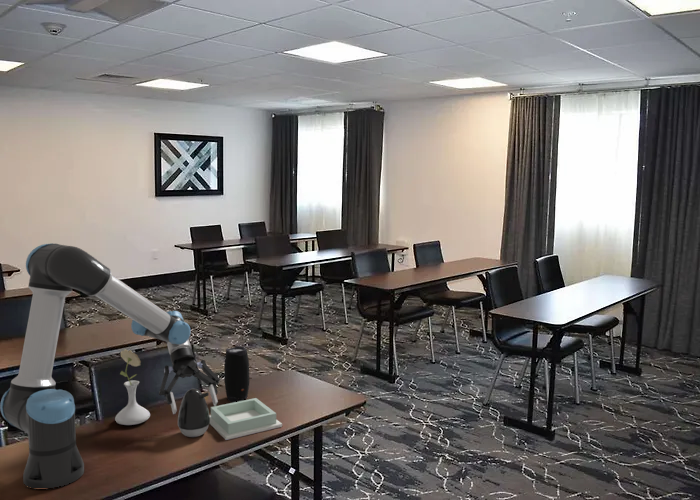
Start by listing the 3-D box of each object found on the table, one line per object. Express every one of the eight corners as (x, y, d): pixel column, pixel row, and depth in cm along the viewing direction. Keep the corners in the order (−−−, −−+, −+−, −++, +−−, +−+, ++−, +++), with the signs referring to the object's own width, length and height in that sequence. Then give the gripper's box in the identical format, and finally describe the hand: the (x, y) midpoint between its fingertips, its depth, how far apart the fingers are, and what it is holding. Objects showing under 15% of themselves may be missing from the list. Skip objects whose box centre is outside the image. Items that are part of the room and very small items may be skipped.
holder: (225, 440, 186) (225, 426, 186) (205, 419, 203) (205, 406, 202) (282, 426, 197) (282, 413, 196) (258, 407, 214) (258, 395, 213)
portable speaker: (250, 401, 220) (249, 351, 218) (225, 403, 218) (224, 352, 215) (248, 393, 228) (247, 344, 226) (224, 395, 226) (223, 346, 224)
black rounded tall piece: (202, 442, 185) (201, 395, 183) (172, 439, 187) (171, 393, 185) (215, 429, 195) (215, 385, 193) (187, 426, 197) (186, 382, 195)
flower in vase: (156, 421, 200) (154, 351, 198) (123, 431, 192) (121, 357, 190) (139, 411, 210) (137, 343, 207) (107, 420, 202) (104, 349, 199)
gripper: (213, 352, 210) (229, 405, 200) (142, 363, 197) (155, 421, 186) (217, 341, 205) (234, 395, 195) (145, 352, 192) (159, 410, 181)
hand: (195, 408), depth 190 cm, fingers open, 13 cm apart
